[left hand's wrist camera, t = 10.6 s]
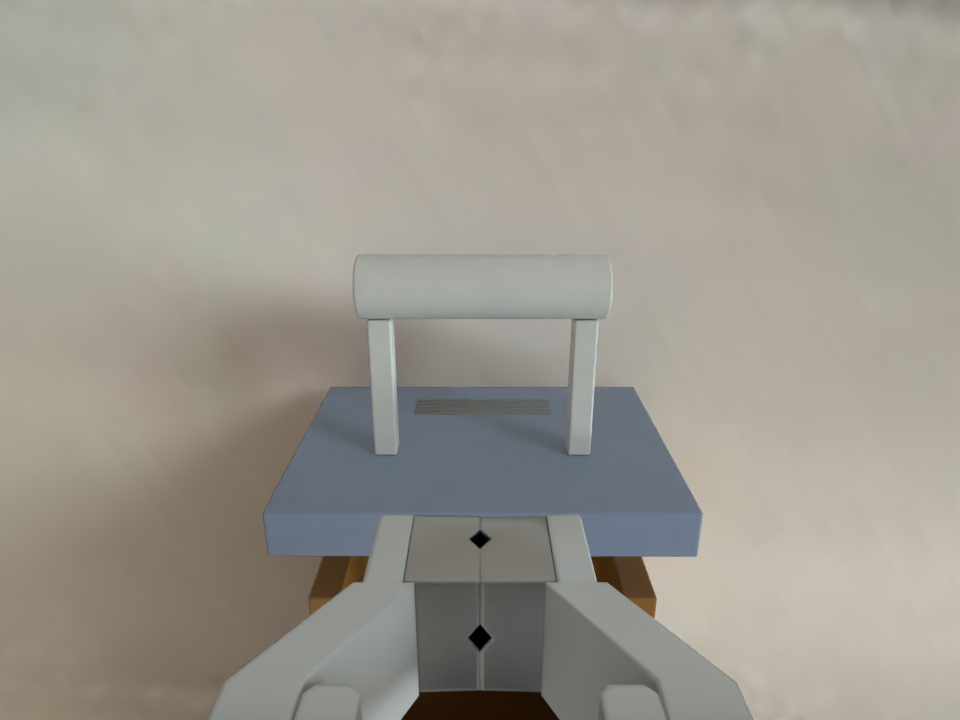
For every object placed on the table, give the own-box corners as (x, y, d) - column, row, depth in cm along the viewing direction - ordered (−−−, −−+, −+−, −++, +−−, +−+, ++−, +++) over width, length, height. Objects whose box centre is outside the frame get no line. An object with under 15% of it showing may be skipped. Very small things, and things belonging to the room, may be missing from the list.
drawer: (316, 224, 20) (231, 285, 13) (647, 225, 20) (734, 285, 13) (361, 756, 28) (321, 970, 21) (601, 756, 28) (642, 971, 21)
